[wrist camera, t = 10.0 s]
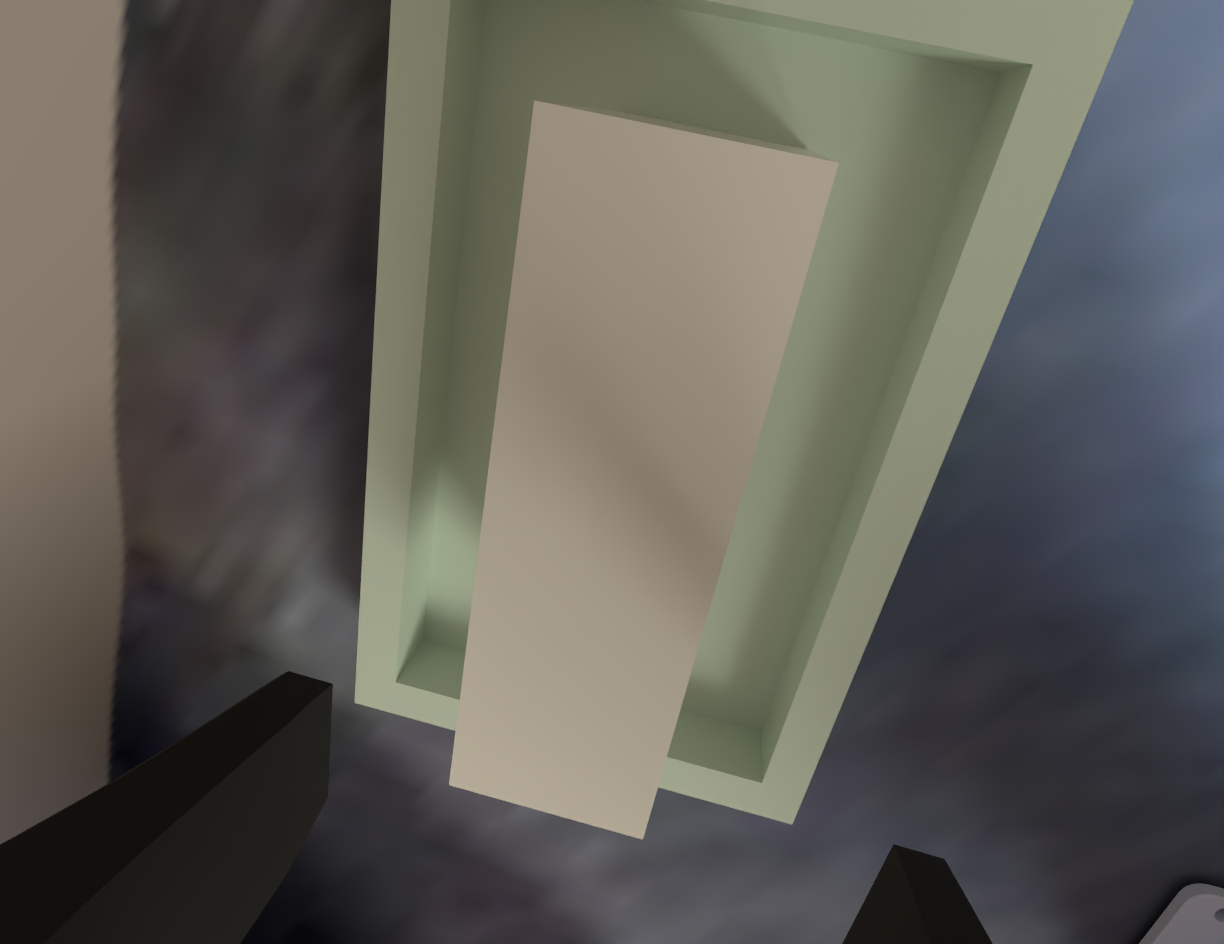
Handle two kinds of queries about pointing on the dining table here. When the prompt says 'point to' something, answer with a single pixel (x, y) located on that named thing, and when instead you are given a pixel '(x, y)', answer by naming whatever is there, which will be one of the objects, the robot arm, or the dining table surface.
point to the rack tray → (818, 340)
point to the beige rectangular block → (622, 444)
